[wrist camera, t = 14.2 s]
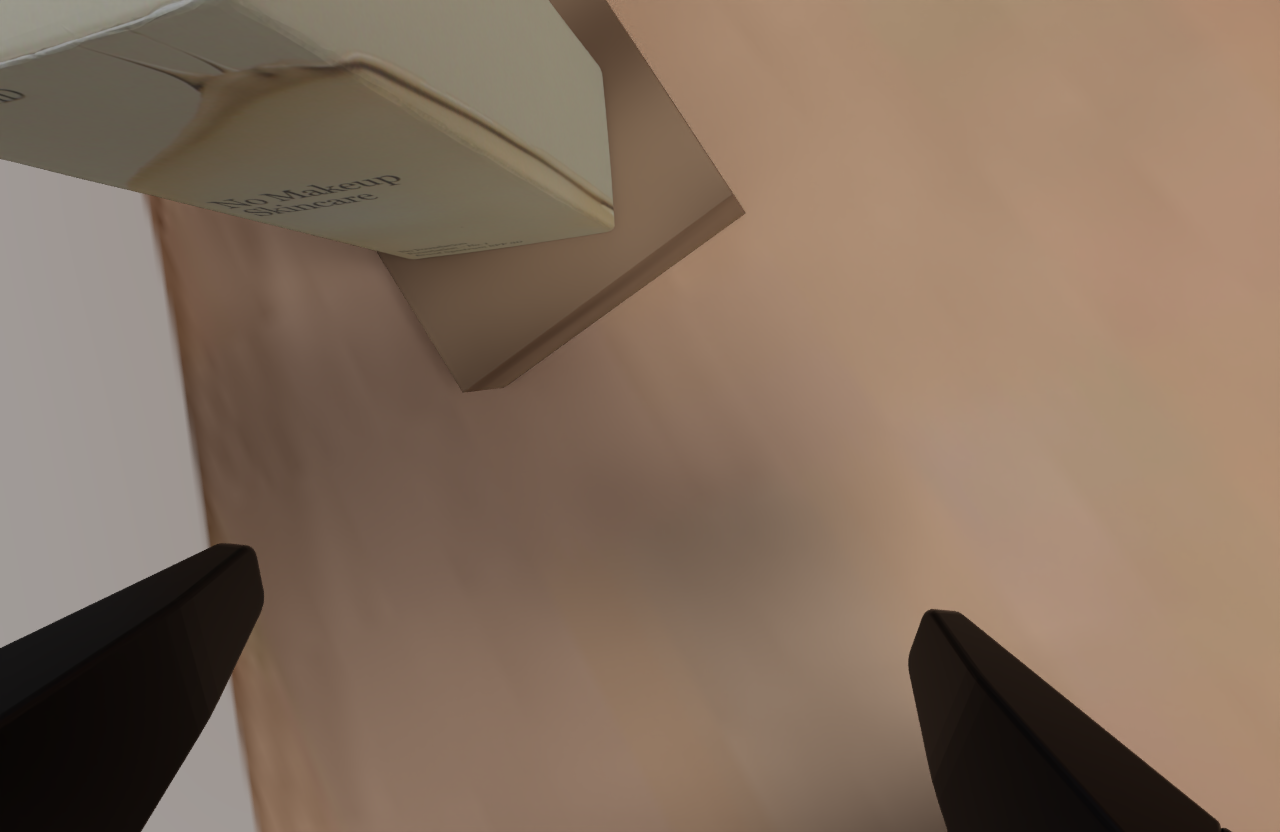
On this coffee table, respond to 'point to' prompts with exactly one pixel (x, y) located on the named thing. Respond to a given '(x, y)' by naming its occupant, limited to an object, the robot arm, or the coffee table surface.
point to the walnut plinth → (586, 265)
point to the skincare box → (320, 114)
